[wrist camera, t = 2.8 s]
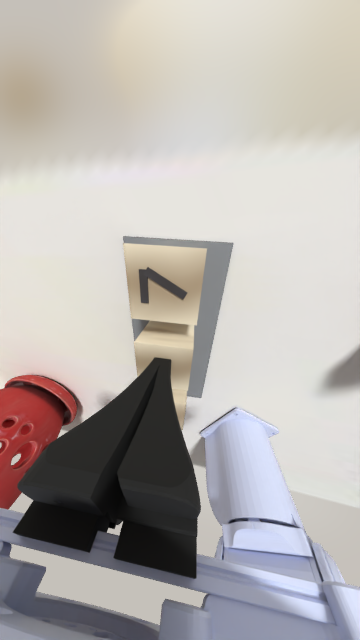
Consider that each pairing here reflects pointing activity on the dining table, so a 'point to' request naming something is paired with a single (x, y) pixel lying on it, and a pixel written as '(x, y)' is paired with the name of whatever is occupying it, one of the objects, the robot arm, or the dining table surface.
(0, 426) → the plant pot
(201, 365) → the felt strip
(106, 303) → the dining table surface
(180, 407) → the block one
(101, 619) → the robot arm
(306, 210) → the dining table surface
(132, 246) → the block seven
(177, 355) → the plain block
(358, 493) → the dining table surface
